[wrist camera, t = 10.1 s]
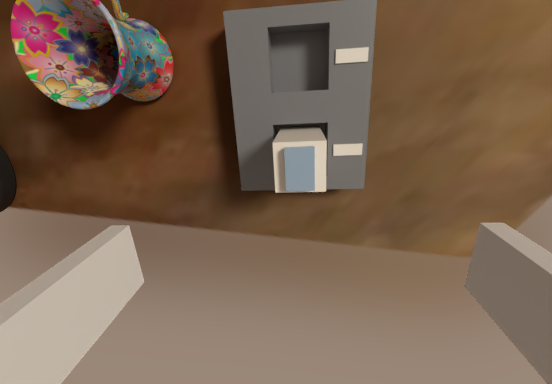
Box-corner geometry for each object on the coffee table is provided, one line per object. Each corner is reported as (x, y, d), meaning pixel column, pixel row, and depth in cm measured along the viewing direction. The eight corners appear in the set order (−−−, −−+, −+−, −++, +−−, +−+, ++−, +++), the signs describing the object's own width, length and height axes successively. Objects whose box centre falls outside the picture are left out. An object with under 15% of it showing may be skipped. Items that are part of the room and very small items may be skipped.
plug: (282, 164, 32) (274, 195, 22) (281, 127, 31) (271, 144, 21) (318, 163, 32) (326, 195, 22) (319, 125, 31) (327, 142, 20)
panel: (248, 180, 35) (241, 191, 31) (233, 21, 28) (222, 10, 25) (357, 177, 33) (364, 189, 29) (366, 10, 27) (377, -4, 23)
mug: (177, 111, 32) (123, 119, 23) (104, 95, 33) (19, 97, 23) (185, -3, 28) (121, -56, 18) (100, -21, 28) (-8, -83, 18)
